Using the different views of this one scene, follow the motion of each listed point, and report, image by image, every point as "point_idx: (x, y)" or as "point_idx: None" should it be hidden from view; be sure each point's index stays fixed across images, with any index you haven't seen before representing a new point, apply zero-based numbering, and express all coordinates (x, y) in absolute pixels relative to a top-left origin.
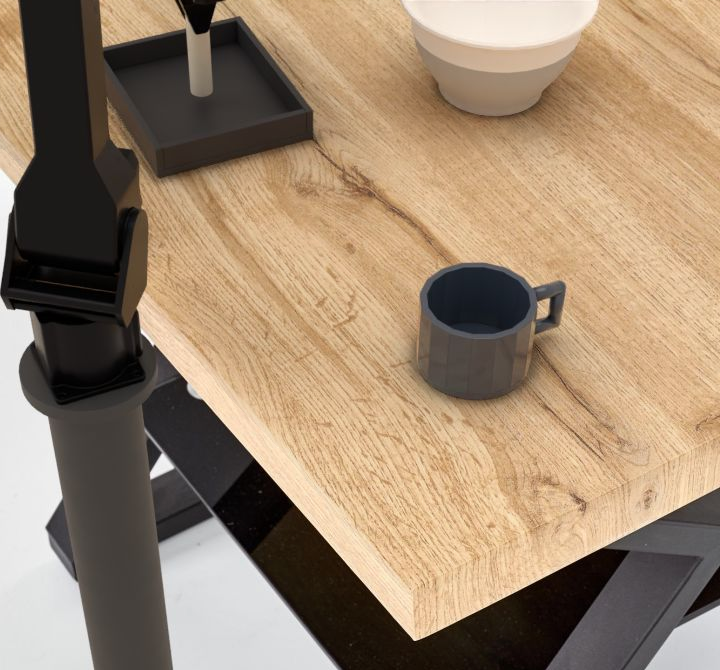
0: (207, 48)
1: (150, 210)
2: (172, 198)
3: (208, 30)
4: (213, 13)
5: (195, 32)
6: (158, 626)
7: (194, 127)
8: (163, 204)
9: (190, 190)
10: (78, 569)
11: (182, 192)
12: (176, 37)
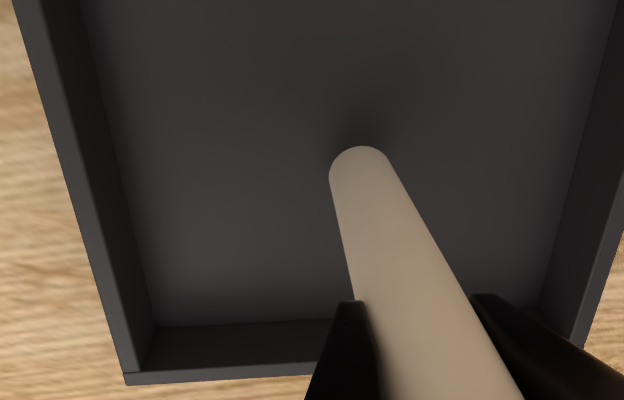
0: (432, 237)
1: (613, 338)
2: (610, 300)
3: (497, 296)
4: (593, 357)
5: None
6: None
7: (449, 212)
8: (614, 316)
9: (612, 266)
10: None
11: (607, 280)
12: (94, 179)
